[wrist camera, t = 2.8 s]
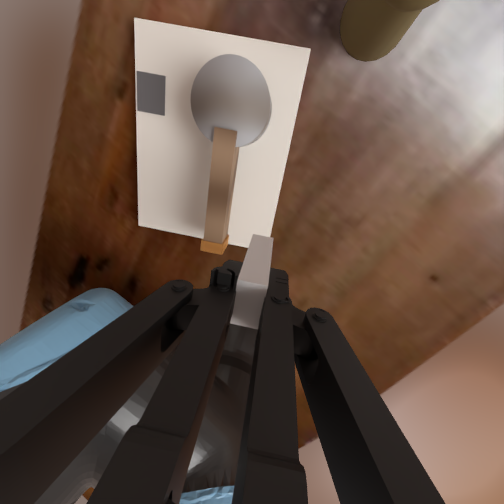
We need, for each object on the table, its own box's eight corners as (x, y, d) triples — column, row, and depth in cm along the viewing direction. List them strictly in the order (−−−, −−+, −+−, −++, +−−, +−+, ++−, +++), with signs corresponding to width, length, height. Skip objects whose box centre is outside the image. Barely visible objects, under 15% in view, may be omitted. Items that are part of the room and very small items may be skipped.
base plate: (267, 247, 33) (266, 252, 32) (144, 222, 34) (138, 225, 32) (309, 54, 24) (310, 48, 23) (142, 24, 25) (133, 17, 23)
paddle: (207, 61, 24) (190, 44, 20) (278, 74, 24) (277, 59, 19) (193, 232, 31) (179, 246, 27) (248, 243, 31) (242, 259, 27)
